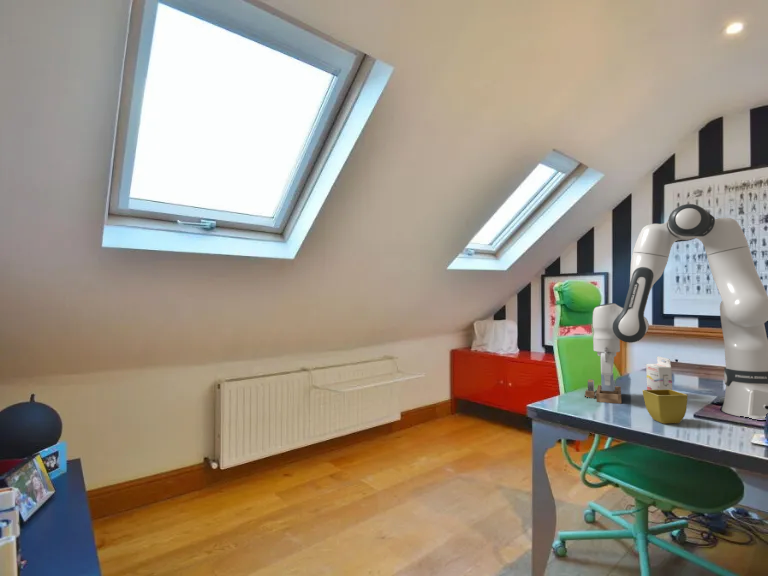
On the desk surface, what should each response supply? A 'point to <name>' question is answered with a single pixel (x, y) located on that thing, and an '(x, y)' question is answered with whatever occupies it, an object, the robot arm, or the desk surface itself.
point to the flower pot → (665, 405)
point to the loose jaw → (607, 387)
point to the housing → (605, 395)
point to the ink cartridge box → (659, 375)
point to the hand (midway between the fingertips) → (607, 383)
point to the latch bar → (590, 385)
